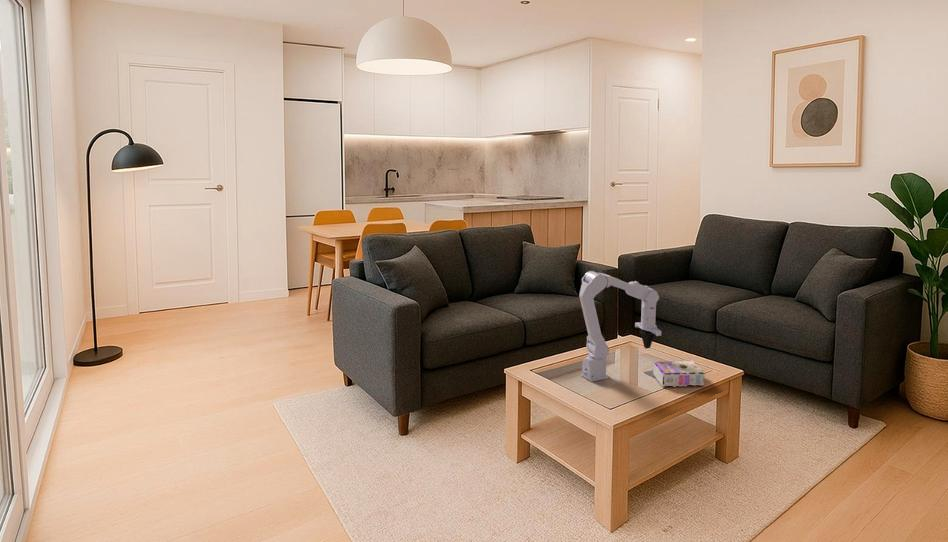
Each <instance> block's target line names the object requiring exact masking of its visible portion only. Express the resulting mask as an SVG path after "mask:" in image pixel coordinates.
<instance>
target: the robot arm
mask: <svg viewBox="0 0 948 542" xmlns="http://www.w3.org/2000/svg"><path fill="white" fill-rule="evenodd" d="M611 286H612V287H614V288H618V289H621V290H624V291H625V293H626V295H628V296H631V297H633V298H636V299H638V300H641V308H640V309H641V316H640V322H639V321H638V322H635V323H634V327H635V328H639V329H640V330H639V332H638V333H639V335H640V336H641V337H640V338H641V340H642V343H643V348H644V349H650V348H651V346H652V343H653V340H654V339H655V336H656V337H659V336H660V337H661V336H662V330H661V329H659V328H658V326H657V325H656V315H657V313H656V311H657V302H658V301H659V300H660V296H659V293H658V291H657V290H655V289H653V288H651V287H649V285H643V284H640V282H639V281H636V280H634V281H629V282H626V281H623V280H621V279H619V278H617V277H614V276H611V275H609V274H606V273H602V272H596V271H594V270H588V271H587V272H586V273H585V274H584V276H583V277H582V278H581V285H580V289H579V295H578V297H579V300H580V305H581V310H582V314H583V318H584V322H585V326H586V331H587V334H588V335H587V336H586V345H585V346H586V349H587V350H588V355H587V357H584V358H583V359H582V360H581V374H580V376H581V377H583V378H584V379H586V380H588V381H589V382H596V381H601V380H607V379H610V378H611V376H610V375H608V374H607V356H608V355H609V354H610V347H609V346H608V344H607V343H606V339H605V338H604V336H603V334H602V331H601V327H600V323H599V318H598V314H597V309H596V306H595V301H594V299H595V297H596V296H597V295H598V294H599V293H600V292H602V291H603V290H605V288H609V287H611Z"/></svg>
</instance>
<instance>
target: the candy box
mask: <svg viewBox="0 0 948 542" xmlns="http://www.w3.org/2000/svg"><path fill="white" fill-rule="evenodd" d="M652 366H653V367H652V370H653V375H654V376H655V377H656V380H657V381H658V383H659V384H660V385H661V387H663V388H665V387H666V388H667V387H668V386H679V387H688V386H687V385H704V386H705V381H704V380H705V374H706V373H705V372H704V371H703V370H702V369H701V368H700V367H699V366H698V365H697V364H696V363H695V362H694V360H675V361H674V360H673V361H654V362H653V363H652ZM668 388H669V387H668Z"/></svg>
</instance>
